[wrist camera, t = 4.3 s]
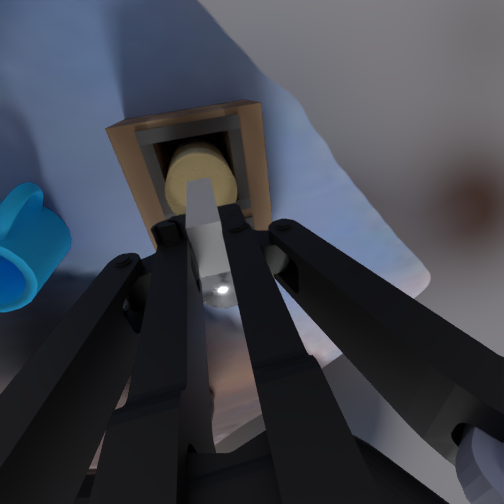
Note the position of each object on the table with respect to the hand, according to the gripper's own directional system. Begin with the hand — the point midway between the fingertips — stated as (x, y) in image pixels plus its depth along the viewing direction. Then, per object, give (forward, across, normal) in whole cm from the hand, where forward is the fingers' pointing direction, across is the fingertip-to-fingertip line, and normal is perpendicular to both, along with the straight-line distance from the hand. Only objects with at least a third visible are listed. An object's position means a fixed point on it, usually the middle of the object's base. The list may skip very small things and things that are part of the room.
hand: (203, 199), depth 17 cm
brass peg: (+8, 0, 0) cm, 8 cm away
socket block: (+13, 0, -5) cm, 14 cm away
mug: (+14, -19, -4) cm, 24 cm away
